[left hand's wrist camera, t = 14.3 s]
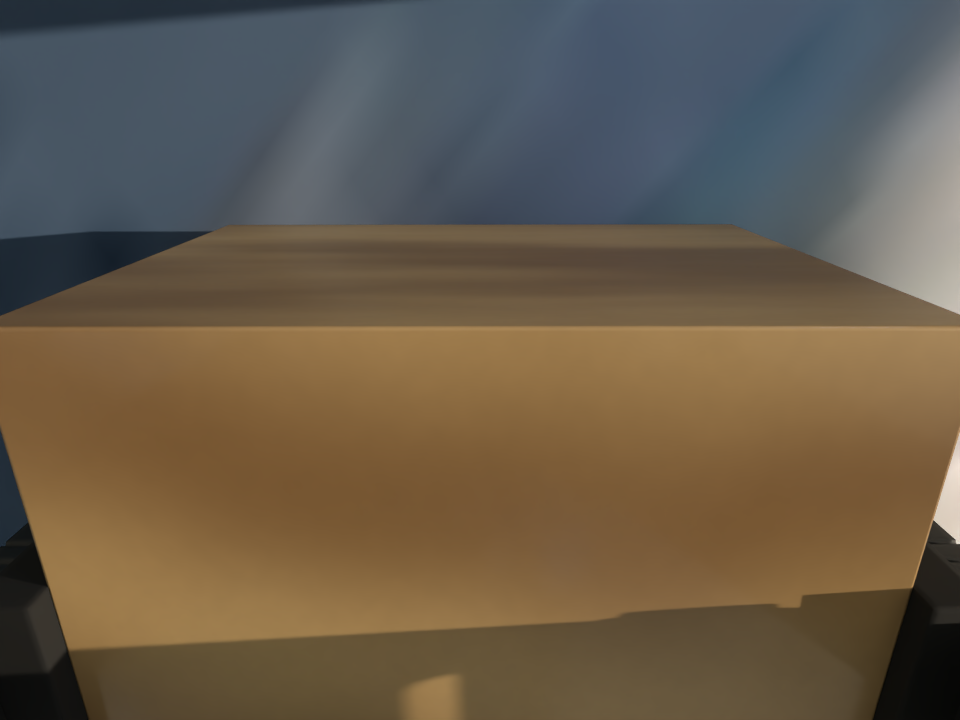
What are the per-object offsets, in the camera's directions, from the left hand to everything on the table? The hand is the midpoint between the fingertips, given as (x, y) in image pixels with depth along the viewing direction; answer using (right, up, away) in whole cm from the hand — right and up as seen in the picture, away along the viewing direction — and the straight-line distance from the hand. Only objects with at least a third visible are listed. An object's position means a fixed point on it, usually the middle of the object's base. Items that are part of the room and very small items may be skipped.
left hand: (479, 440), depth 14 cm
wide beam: (0, -33, +13) cm, 36 cm away
